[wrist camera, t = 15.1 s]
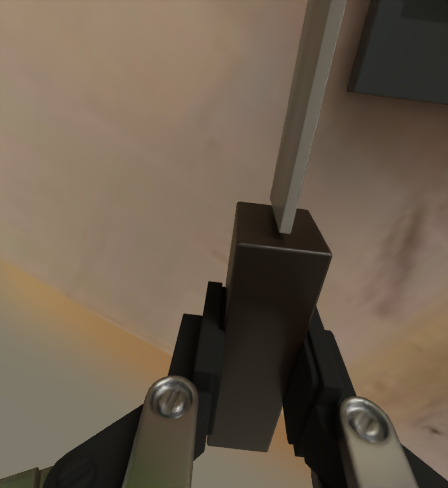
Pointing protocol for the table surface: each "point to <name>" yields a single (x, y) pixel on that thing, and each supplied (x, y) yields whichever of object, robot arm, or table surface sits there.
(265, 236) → the table knife
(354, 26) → the table surface
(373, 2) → the board
